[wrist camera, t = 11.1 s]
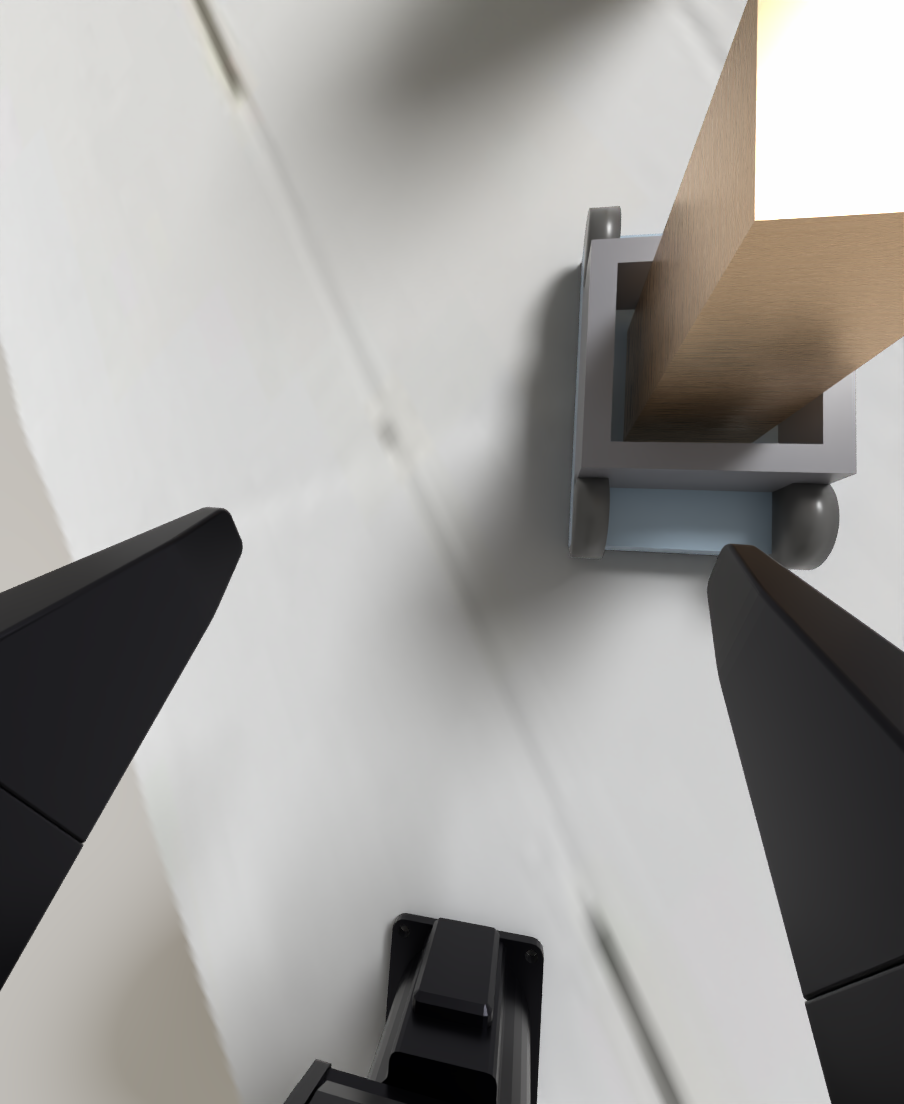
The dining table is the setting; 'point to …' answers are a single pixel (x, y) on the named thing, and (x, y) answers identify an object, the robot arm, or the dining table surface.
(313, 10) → the dining table surface
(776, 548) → the chassis
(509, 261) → the dining table surface
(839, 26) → the tall tan wooden block
